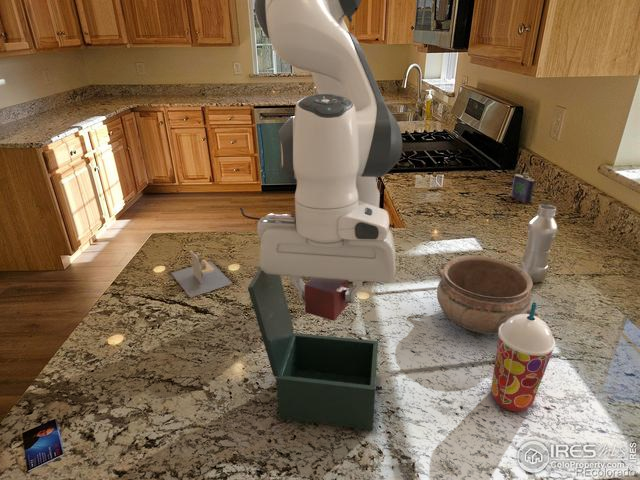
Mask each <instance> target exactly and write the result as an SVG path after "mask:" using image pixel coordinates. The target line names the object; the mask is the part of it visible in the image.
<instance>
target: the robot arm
mask: <svg viewBox="0 0 640 480" xmlns="http://www.w3.org/2000/svg"><path fill="white" fill-rule="evenodd" d="M362 1H363V0H254V4H253V5H254V8H253V9H254V12H255V17H256V21H257V23H258V26H259V28H260V30H261V31H262V33H263V34H264V35H265V37H266V38H267V39H268V40H269V41H270V44H271V46H272V49H273V51H274V52H275V53H276V55H277V56H278V57H279V58H280V59H281V60H282V61H283V62H285V63H286V64H288V66H289V65H290V66H292V67H294V68H296V69H297V70H298V69H299V70H303V71H306V72H307V71H308V72H310V73H311V77H312V81H313V83H314V86H315V89H316V94H311V95H307V96H305V97H303V98H301V99H300V100H299V101H297V102H296V104H295V108H294V116H290V118H288V119H287V120H286V121H285V122H284V124H282V126H281V127H280V128H279V130H278V137H279V141H280V151H281V155H280V156H281V157H280V169H282V170H283V171H284V172H285V173H286V174H287V175H289V176H290V177H291V178H292V179H295V180H296V189H295V193H294V211H295V214H274V213H269V214H266V215H265V216H262V217H257V216H251V215H247V214H245V212H244V207H242V206H241V207H240V209H239V210H240V212H241V215H242V216H243V217H244V218H246V219H250V220H256V221H257V225H256V228H257V236H258V238H259V240H260V246H259V268H261V269H262V270H263V272H264V273H266V274H274V275H280V276H290V282H291V283H292V284H293V286H294V287H295V289H296V290H297V291H298V298H299V300H304V301H305V286H304V285H305V284H306V283H305V281H304V280H303V279H302V278H312V277H315V278H328V279H342V280H348V283H349V282H350V283H352V286H351V287H348V288H347V289H346V292H345V303H348V304H354V305H355V304H356V296H357V293H358V292H359V291H360V290H361V288H362V287H363V283H364V282H368V283H369V282H372V283H384V284H389V283H391V282H392V281H393V280H395V278H396V272H397V271H396V265H397V263H396V261H397V260H396V257H397V256H396V246H395V240H394V235H393V232H392V231H391V230H390V224H391V223H390V215H389V212H388V211H387V210H386V209H384V208H381V207H380V201H381V198H380V197H381V193H380V190H379V189H378V185H377V179H376V178H382V177H384V176H385V175H387V174H388V173H389V172H390V171H391V170H392V169H393V168H394V167H395V166H396V165H397V164H398V162H399V160H400V159H401V157H402V154H403V136H402V132H401V131H402V130H401V128H400V125H399V123H398V120H397V119H396V118H395V116H394V115H393V113H392V112H391V110H390V108H389V107H388V105H387V103H386V102H385V99H384V97H383V95H382V92H381V90H380V88H379V86H378V83H377V81H376V78H375V76H374V74H373V71H372V68H371V67H370V64H369V62H368V59H367V57H366V55H365V53H364V50H363V49H362V47H361V44H360V42H359V40H358V39H357V37H356V36H355V35H354V34H353V33H351V32H350V31H349V28H348V26H347V24H346V22H345V20H344V17H345V16H346V18H347V20H348V22H349V23H351V22H352V21H353V16H354V15H355V14H356V12H357V11H358V9H359V7H360V5H361V3H362Z"/></svg>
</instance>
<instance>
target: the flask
mask: <svg viewBox="0 0 640 480" xmlns="http://www.w3.org/2000/svg"><path fill="white" fill-rule="evenodd" d="M529 174H530V173H529V172H523V173H522V175H521V174H518V173H517V174H514V176H513V181H512V186H511V192H510V196H509V197H510V198H512V199H514V200H516V201H520V202H521V203H524V204H526V205H530V204H531V200H532V197H533V191H534V186H535V179H533V177H530V176H529Z"/></svg>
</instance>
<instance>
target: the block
mask: <svg viewBox="0 0 640 480" xmlns="http://www.w3.org/2000/svg"><path fill="white" fill-rule="evenodd" d="M304 286H305V300H304V304H305V305H304V306H305V307H304V309H305V310H304V311H305V313H306V314H309V315H313V316H316V317H318V318H319V317H320V318H322V319H326V320H329V321H332V322H335V321H336V320H337V319H338V317H339V316H340V315H341V314H342V313H343V311H344V310H345V309H346V307H347V306H348V305H349V303H345V292H346V289H347V288H349V281H348V280H342V279H328V278H315V277H310V279H309V280H308V281H307V282H306V283H305V285H304Z"/></svg>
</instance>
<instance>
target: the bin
mask: <svg viewBox="0 0 640 480" xmlns="http://www.w3.org/2000/svg"><path fill="white" fill-rule="evenodd" d="M378 352H379V341H378V340H370V339H360V338H350V337H340V336H339V337H338V336H328V335H318V334H309V333H297V332H293V335H292V338H291V341H290V343H289V346H288V349H287V352H286V355H285V358H284V361H283V363H282V366H281V369H280V372H279V375H278V376H275V381H276V383H275V384H276V395H277V396H276V397H277V409H278V411H277V412H278V419H281V420H289V421H297V422H305V423H313V424H319V425H328V426H336V427H343V428H350V429H351V428H352V429H359V430H368V431H373V430H374V418H375V417H374V416H375V400H376V383H377V369H378Z"/></svg>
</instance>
